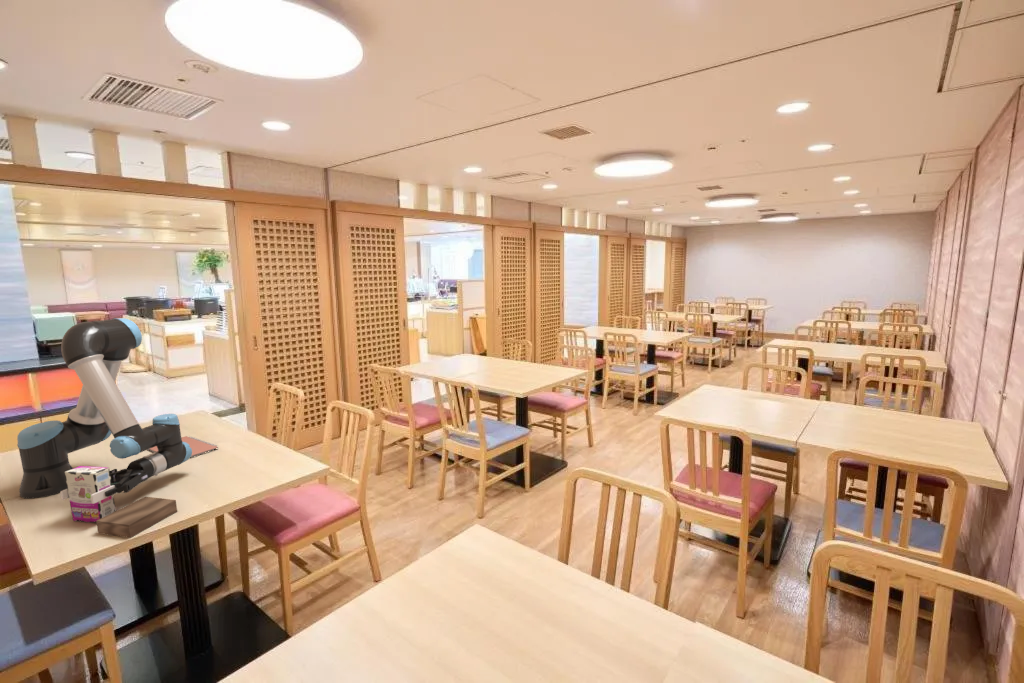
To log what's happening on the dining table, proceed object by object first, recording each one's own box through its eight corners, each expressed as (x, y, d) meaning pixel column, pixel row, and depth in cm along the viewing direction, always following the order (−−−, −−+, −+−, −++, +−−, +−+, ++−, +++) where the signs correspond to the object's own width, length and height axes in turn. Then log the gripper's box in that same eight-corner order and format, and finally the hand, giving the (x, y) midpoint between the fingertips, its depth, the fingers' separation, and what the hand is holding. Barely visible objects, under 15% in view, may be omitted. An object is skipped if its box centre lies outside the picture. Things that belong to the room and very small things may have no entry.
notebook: (221, 449, 203) (220, 445, 203) (178, 464, 189) (177, 459, 189) (189, 438, 217) (188, 434, 217) (146, 451, 203) (146, 446, 203)
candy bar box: (118, 515, 149) (110, 466, 146) (102, 524, 144) (93, 473, 141) (88, 512, 151) (80, 464, 148) (71, 521, 146) (63, 471, 143)
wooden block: (98, 533, 139) (96, 520, 138) (147, 507, 153) (145, 496, 153) (130, 537, 136) (128, 525, 136) (177, 511, 151) (175, 500, 150)
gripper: (175, 480, 161) (109, 512, 140) (121, 474, 166) (49, 505, 145) (172, 459, 160) (105, 489, 139) (118, 454, 165) (45, 482, 144)
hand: (76, 497), depth 142 cm, fingers closed on candy bar box, 11 cm apart
